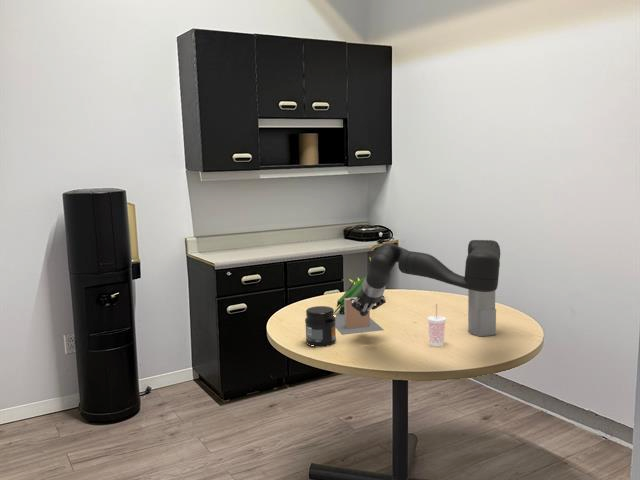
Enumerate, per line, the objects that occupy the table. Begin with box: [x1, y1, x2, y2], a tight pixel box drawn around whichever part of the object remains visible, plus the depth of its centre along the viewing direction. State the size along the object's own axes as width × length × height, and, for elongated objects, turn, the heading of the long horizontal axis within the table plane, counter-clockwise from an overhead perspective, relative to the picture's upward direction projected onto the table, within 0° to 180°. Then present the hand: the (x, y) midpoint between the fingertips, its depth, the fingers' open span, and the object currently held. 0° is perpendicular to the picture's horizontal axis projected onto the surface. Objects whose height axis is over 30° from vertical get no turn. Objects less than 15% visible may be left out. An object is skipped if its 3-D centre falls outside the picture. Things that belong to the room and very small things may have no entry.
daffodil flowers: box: [334, 258, 372, 314], centre depth 251 cm, size 17×15×35 cm
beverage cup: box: [427, 303, 447, 347], centre depth 199 cm, size 6×6×14 cm
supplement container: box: [304, 305, 337, 347], centre depth 205 cm, size 10×10×12 cm
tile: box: [343, 297, 371, 329], centre depth 220 cm, size 2×9×11 cm, turn 104°
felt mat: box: [334, 312, 385, 336], centre depth 227 cm, size 26×16×1 cm, turn 14°
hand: (362, 313), depth 211 cm, fingers closed
